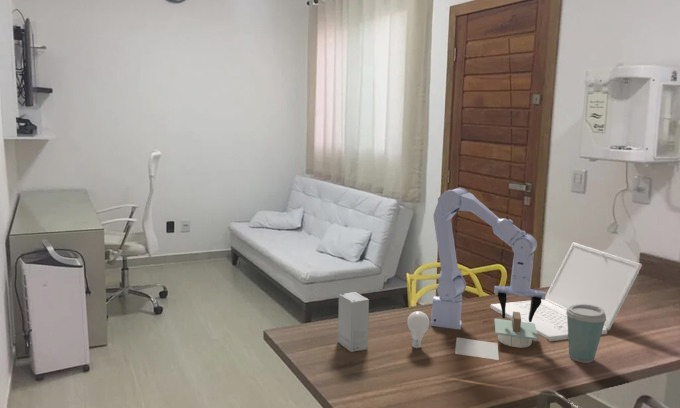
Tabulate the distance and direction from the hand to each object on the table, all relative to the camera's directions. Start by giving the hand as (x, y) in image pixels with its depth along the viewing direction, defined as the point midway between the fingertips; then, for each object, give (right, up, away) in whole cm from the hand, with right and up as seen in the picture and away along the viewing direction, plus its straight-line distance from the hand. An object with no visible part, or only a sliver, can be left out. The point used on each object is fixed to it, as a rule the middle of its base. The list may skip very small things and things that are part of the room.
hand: (516, 318), depth 171 cm
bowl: (0, -7, +1) cm, 7 cm away
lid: (0, -3, 0) cm, 3 cm away
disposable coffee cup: (+16, -10, -8) cm, 20 cm away
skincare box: (-50, -6, -7) cm, 51 cm away
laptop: (+22, -5, +23) cm, 32 cm away
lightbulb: (-31, -7, -7) cm, 33 cm away
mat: (-13, -8, -6) cm, 17 cm away
